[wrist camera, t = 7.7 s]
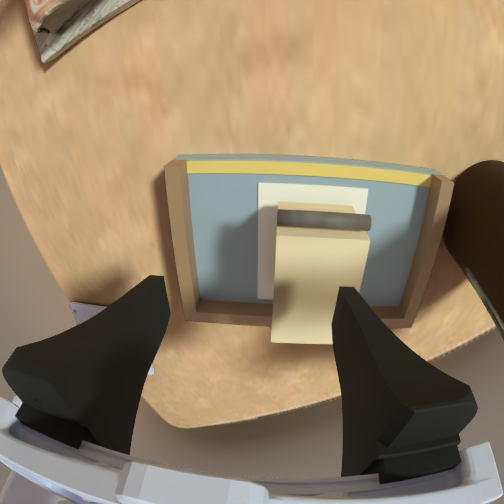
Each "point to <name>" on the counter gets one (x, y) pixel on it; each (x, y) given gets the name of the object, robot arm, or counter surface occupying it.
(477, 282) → the olive oil
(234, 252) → the dock
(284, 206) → the beige block with rod
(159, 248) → the counter surface
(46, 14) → the packaged product
